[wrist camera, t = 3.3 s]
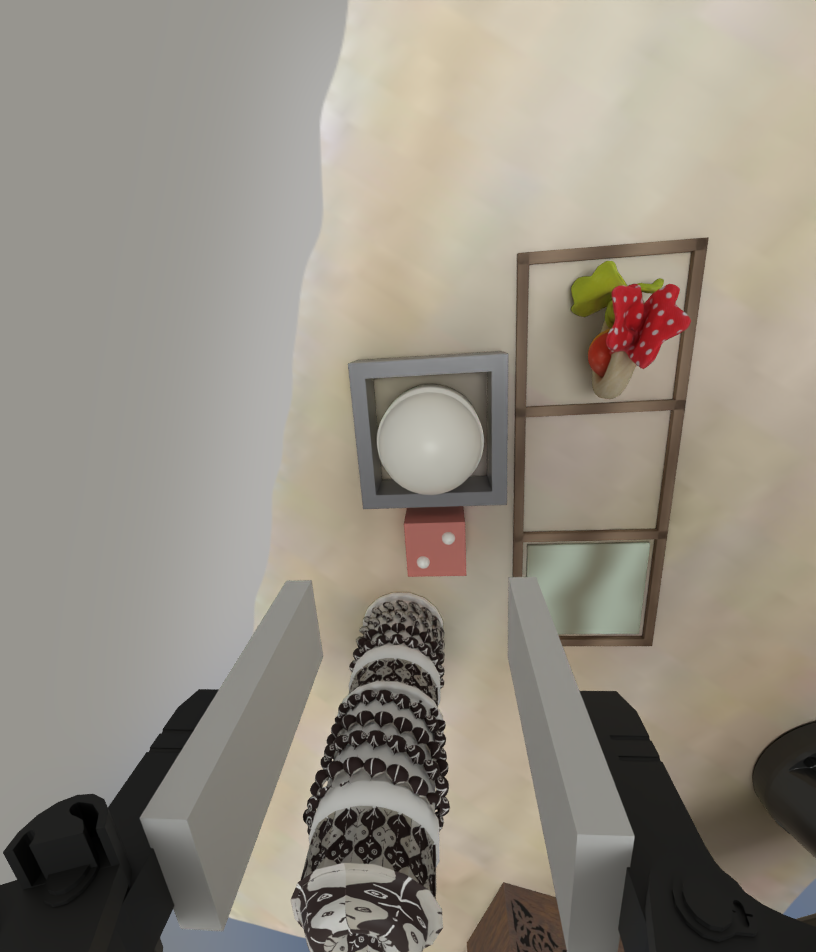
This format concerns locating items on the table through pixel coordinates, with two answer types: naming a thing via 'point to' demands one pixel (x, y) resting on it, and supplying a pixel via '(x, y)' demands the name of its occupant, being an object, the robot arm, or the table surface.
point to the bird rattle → (625, 325)
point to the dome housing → (437, 516)
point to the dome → (430, 439)
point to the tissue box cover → (520, 924)
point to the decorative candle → (380, 792)
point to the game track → (602, 564)
